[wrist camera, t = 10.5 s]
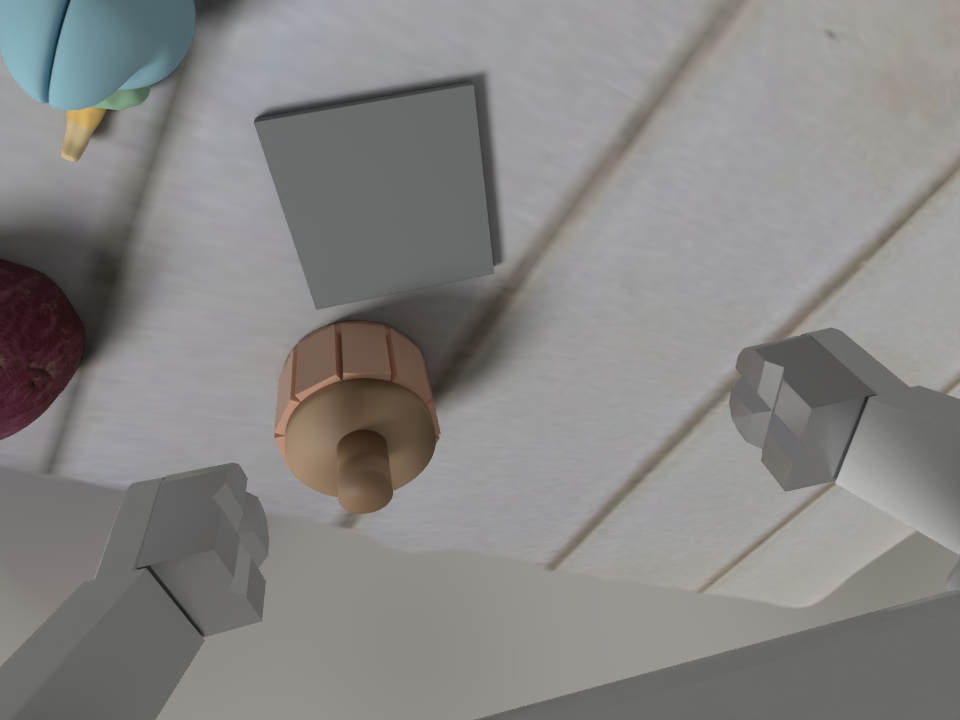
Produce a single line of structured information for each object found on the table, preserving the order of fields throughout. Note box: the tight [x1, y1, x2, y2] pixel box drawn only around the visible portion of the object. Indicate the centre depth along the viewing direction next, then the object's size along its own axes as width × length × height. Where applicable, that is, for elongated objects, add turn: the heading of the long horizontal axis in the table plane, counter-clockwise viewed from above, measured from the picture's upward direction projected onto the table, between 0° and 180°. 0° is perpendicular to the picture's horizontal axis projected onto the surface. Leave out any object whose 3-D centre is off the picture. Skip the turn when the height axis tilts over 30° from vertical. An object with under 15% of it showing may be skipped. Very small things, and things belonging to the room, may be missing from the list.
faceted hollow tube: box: [274, 320, 441, 468], centre depth 42 cm, size 10×11×6 cm
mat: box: [254, 81, 494, 310], centre depth 37 cm, size 12×12×1 cm
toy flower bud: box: [0, 0, 195, 162], centre depth 26 cm, size 7×9×12 cm
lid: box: [284, 378, 436, 513], centre depth 38 cm, size 10×10×5 cm
